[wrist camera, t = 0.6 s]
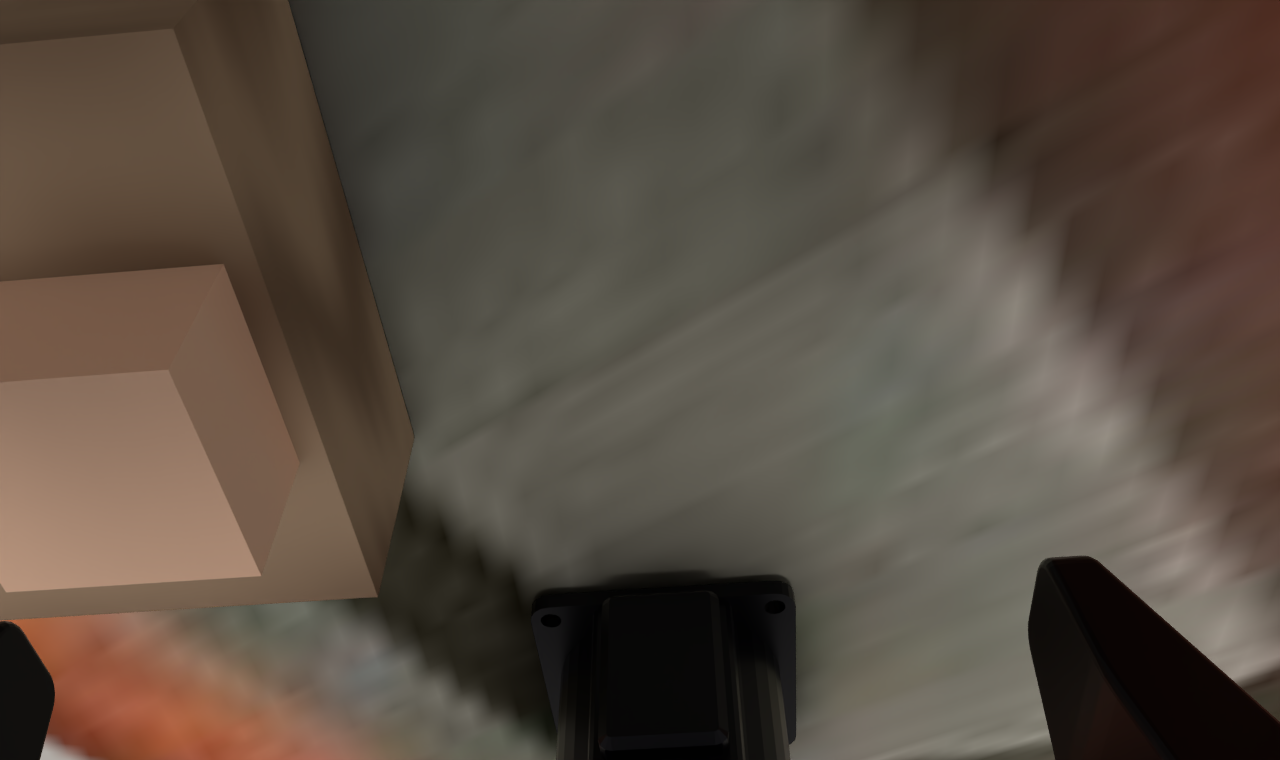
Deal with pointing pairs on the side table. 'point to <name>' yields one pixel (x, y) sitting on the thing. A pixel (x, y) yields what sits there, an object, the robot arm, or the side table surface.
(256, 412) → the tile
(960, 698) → the side table surface
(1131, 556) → the side table surface
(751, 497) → the side table surface
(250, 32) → the stepped beige slab
